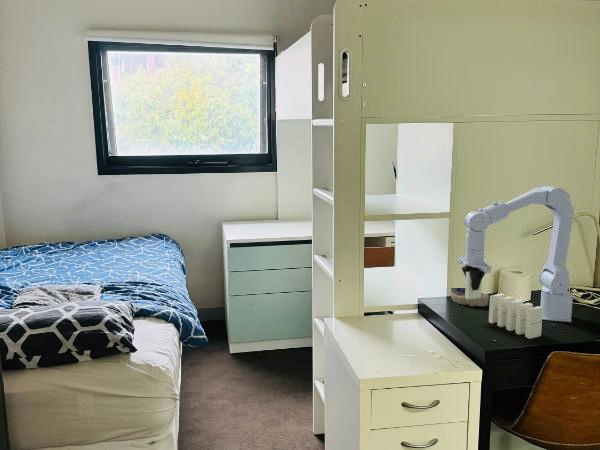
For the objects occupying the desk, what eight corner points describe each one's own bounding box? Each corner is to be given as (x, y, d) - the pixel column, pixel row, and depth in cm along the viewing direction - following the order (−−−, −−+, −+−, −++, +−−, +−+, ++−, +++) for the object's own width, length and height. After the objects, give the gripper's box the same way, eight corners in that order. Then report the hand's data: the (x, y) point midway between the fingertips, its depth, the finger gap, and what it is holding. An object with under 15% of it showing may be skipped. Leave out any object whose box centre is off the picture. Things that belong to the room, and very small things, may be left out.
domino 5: (515, 333, 170) (516, 305, 169) (526, 330, 173) (528, 302, 171) (519, 334, 169) (521, 306, 167) (531, 331, 171) (532, 304, 170)
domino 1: (465, 297, 182) (466, 271, 180) (477, 296, 184) (478, 270, 182) (468, 299, 180) (469, 272, 179) (480, 297, 182) (481, 271, 180)
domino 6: (525, 337, 167) (526, 308, 166) (536, 334, 169) (538, 306, 168) (529, 338, 166) (531, 310, 164) (540, 335, 168) (542, 307, 166)
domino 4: (506, 329, 174) (507, 301, 172) (517, 326, 176) (519, 299, 174) (510, 330, 172) (511, 303, 171) (521, 328, 175) (523, 300, 173)
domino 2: (488, 321, 180) (489, 295, 179) (499, 319, 182) (501, 293, 181) (492, 323, 179) (493, 296, 177) (503, 320, 181) (505, 294, 179)
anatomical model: (475, 294, 210) (476, 282, 209) (494, 308, 194) (495, 295, 193) (445, 296, 209) (445, 284, 208) (461, 309, 193) (461, 297, 192)
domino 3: (497, 325, 177) (498, 298, 175) (508, 322, 179) (510, 296, 178) (501, 327, 176) (502, 300, 174) (512, 324, 178) (513, 297, 176)
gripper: (451, 245, 184) (450, 284, 187) (478, 254, 171) (476, 296, 173) (469, 243, 187) (467, 282, 189) (497, 252, 173) (495, 293, 176)
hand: (473, 288), depth 181 cm, fingers closed on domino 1, 1 cm apart
